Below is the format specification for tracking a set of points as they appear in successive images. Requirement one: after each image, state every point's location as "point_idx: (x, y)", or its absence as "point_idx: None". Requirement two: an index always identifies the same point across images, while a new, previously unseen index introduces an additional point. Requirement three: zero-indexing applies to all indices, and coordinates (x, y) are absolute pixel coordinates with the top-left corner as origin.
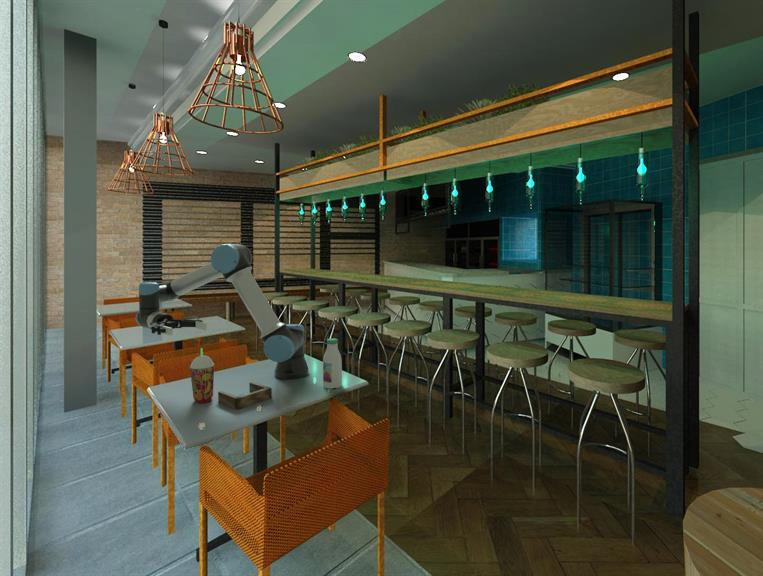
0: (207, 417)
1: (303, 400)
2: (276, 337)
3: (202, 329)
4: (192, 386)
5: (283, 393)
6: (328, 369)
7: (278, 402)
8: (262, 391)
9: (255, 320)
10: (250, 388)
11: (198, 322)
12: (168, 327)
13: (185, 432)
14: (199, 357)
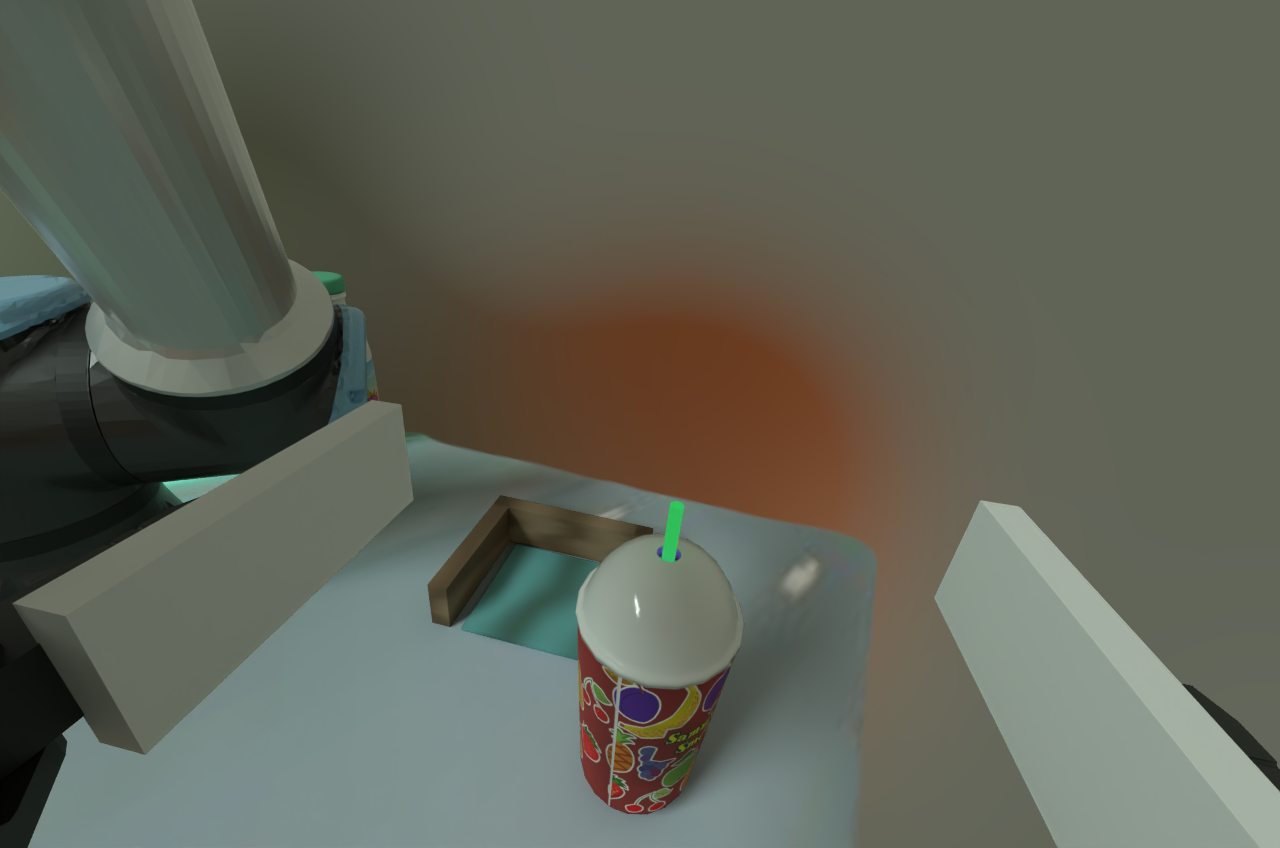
0: (753, 602)
1: (500, 460)
2: (364, 317)
3: (371, 536)
4: (705, 731)
5: (443, 518)
6: (373, 380)
7: (536, 498)
8: (541, 506)
9: (230, 251)
10: (453, 604)
11: (236, 519)
12: (1058, 567)
13: (861, 585)
14: (697, 554)
